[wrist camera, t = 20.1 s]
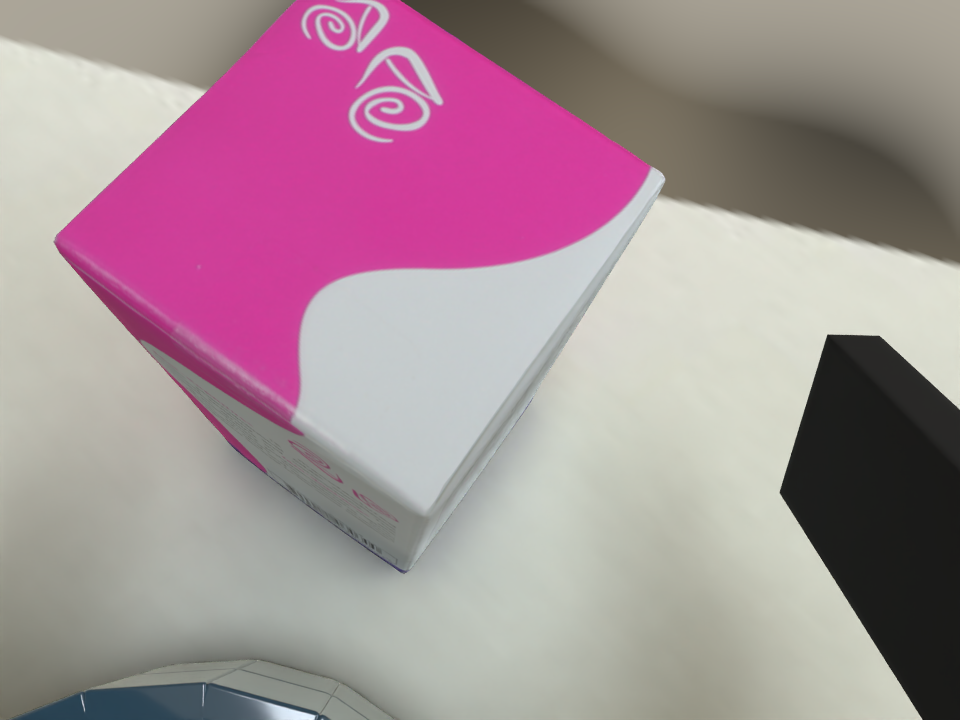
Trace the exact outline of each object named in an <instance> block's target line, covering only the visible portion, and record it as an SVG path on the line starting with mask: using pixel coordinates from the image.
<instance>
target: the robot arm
mask: <svg viewBox="0 0 960 720" xmlns="http://www.w3.org/2000/svg"><path fill="white" fill-rule="evenodd" d="M780 494H781V496H782V497H783V499H784V500H785V502H786V504H787V505H788V507H789V508H790V510H791V512H792V513H793V515H794V516H795V518H796V520H797V521H798V523H799V524H800V526H801V527H802V529H803V531H804V532H805V534H806V535H807V537H808V539H809V540H810V542H811V543H812V545H813V546H814V548H815V550H816V551H817V553H818V554H819V556H820V558H821V559H822V561H823V562H824V564H825V566H826V567H827V569H828V570H829V572H830V573H831V575H832V577H833V578H834V580H835V581H836V583H837V585H838V586H839V588H840V589H841V591H842V592H843V594H844V596H845V597H846V599H847V600H848V602H849V604H850V605H851V607H852V608H853V610H854V611H855V613H856V615H857V616H858V618H859V619H860V621H861V623H862V624H863V626H864V627H865V629H866V631H867V632H868V634H869V635H870V637H871V638H872V640H873V642H874V643H875V645H876V646H877V648H878V650H879V651H880V653H881V654H882V656H883V657H884V659H885V661H886V662H887V664H888V665H889V667H890V669H891V670H892V672H893V673H894V675H895V677H896V678H897V680H898V681H899V683H900V684H901V686H902V688H903V689H904V691H905V692H906V694H907V696H908V697H909V699H910V700H911V702H912V703H913V705H914V707H915V708H916V710H917V711H918V713H919V715H920V716H921V718H922V719H923V720H960V410H959V409H958V408H957V407H956V406H955V405H954V404H953V403H952V402H951V401H950V400H949V399H947V398H946V397H945V396H944V395H943V394H942V393H941V392H940V391H939V390H938V389H937V388H936V387H934V386H933V385H932V384H931V383H930V382H929V381H928V380H927V379H926V378H925V377H924V376H923V375H921V374H920V373H919V372H918V371H917V370H916V369H915V368H914V367H913V366H912V365H911V364H910V363H908V362H907V361H906V360H905V359H904V358H903V357H902V356H901V355H900V354H899V353H898V352H897V351H895V350H894V349H893V348H892V347H891V346H890V345H889V344H888V343H887V342H886V341H885V340H884V339H882V338H881V337H880V336H864V335H827V338H826V341H825V344H824V348H823V351H822V354H821V358H820V361H819V364H818V368H817V371H816V374H815V377H814V381H813V384H812V387H811V391H810V394H809V397H808V401H807V404H806V407H805V410H804V414H803V417H802V420H801V424H800V427H799V430H798V433H797V437H796V440H795V443H794V447H793V450H792V453H791V457H790V460H789V463H788V466H787V470H786V473H785V476H784V480H783V483H782V486H781V490H780Z"/></svg>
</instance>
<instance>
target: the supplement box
mask: <svg viewBox="0 0 960 720" xmlns="http://www.w3.org/2000/svg"><path fill="white" fill-rule="evenodd" d="M664 182H665V177H664V176H663V174H662V173H661V172H660V171H658V170H657V169H655V168H653V167H651V166H649V165H648V164H646V163H645V162H643V161H642V160H640V159H639V158H638V157H636V156H635V155H634V154H632V153H631V152H629V151H628V150H626V149H625V148H623V147H622V146H620V145H618V144H617V143H615V142H613V141H611V140H610V139H608V138H607V137H606V136H604V135H603V134H602V133H600V132H599V131H597V130H596V129H594V128H592V127H591V126H589V125H588V124H587V123H585V122H584V121H582V120H581V119H579V118H577V117H576V116H574V115H573V114H571V113H570V112H568V111H567V110H565V109H564V108H562V107H561V106H559V105H557V104H556V103H555V102H553V101H551V100H550V99H548V98H547V97H545V96H544V95H542V94H541V93H539V92H538V91H536V90H535V89H533V88H532V87H530V86H529V85H527V84H526V83H524V82H523V81H521V80H520V79H518V78H517V77H515V76H514V75H512V74H510V73H509V72H507V71H506V70H504V69H502V68H501V67H500V66H498V65H497V64H495V63H494V62H492V61H490V60H489V59H487V58H486V57H484V56H483V55H481V54H480V53H478V52H477V51H475V50H474V49H472V48H470V47H469V46H467V45H466V44H465V43H463V42H462V41H461V40H459V39H458V38H456V37H455V36H453V35H451V34H449V33H448V32H446V31H445V30H443V29H442V28H440V27H438V26H437V25H436V24H434V23H433V22H431V21H430V20H428V19H427V18H425V17H424V16H422V15H421V14H419V13H418V12H417V11H415V10H414V9H412V8H410V7H409V6H407V5H406V4H404V3H403V2H402V1H400V0H296V1H295V2H294V3H293V4H292V5H291V6H290V7H289V8H288V9H287V10H286V11H285V12H284V13H283V14H282V15H281V16H280V17H279V18H278V19H277V20H276V21H275V22H274V23H273V24H272V25H271V26H270V28H269V29H268V30H267V31H266V32H265V33H264V34H263V35H262V36H261V37H260V38H259V39H258V40H257V41H256V43H255V44H254V45H253V46H252V47H251V48H250V49H249V50H248V51H247V52H246V53H245V54H244V55H243V56H242V57H241V58H240V59H239V60H238V61H237V62H236V63H235V64H234V65H233V66H232V67H231V68H230V69H229V70H228V71H227V72H226V73H225V74H224V75H223V76H222V77H221V78H220V79H219V80H218V81H217V82H216V83H215V84H214V85H213V86H212V87H211V88H210V89H209V90H208V91H207V92H206V93H205V94H204V95H203V96H202V97H201V98H199V99H198V100H197V101H196V102H195V103H194V104H193V105H192V106H191V107H190V108H189V109H188V110H187V111H186V112H185V113H184V114H183V115H182V116H180V117H179V118H178V119H177V120H176V121H175V122H174V123H173V124H172V125H171V126H170V127H169V128H168V129H167V130H166V131H165V132H164V133H163V134H162V135H161V136H160V137H159V138H158V139H156V140H155V141H154V142H153V143H152V144H151V145H150V146H149V147H148V148H147V149H146V150H145V151H144V152H143V153H142V154H141V155H140V156H139V157H138V158H137V159H136V160H135V161H134V162H133V163H132V164H130V165H129V166H128V167H127V168H126V169H125V170H124V171H123V172H122V173H121V174H120V175H119V176H118V177H117V178H116V179H115V180H114V181H112V182H111V183H110V184H109V185H108V186H107V187H106V188H105V189H104V190H103V191H102V192H101V193H100V194H99V195H98V196H97V197H96V198H95V199H94V200H92V201H91V202H90V203H89V204H88V205H87V206H86V207H85V208H84V209H83V210H82V211H81V212H80V213H79V214H78V215H77V216H76V217H75V218H74V219H73V220H72V221H71V222H70V223H69V224H68V225H67V226H66V227H65V228H64V229H63V230H61V231H60V232H59V233H58V234H57V235H56V238H55V240H54V243H55V245H56V247H57V249H58V251H59V253H60V254H61V255H62V256H63V257H64V258H65V260H66V261H67V262H68V263H69V264H70V265H71V266H72V268H73V269H74V270H75V271H76V272H77V273H78V275H79V276H80V277H81V278H82V279H83V280H84V281H85V283H86V284H87V285H88V286H89V287H90V288H91V289H92V291H93V292H94V293H95V294H96V295H97V296H98V297H99V298H100V300H101V301H102V302H103V303H104V304H105V305H106V306H107V307H108V308H109V310H110V311H111V312H112V313H113V314H114V315H115V316H116V317H117V318H118V319H119V321H120V322H121V323H122V324H123V325H124V326H125V327H126V329H127V330H128V331H129V332H130V333H131V334H132V335H133V336H134V337H135V338H136V339H137V340H138V341H139V343H140V344H141V345H142V346H143V347H144V348H145V349H146V350H147V352H148V353H149V354H150V355H151V356H152V357H153V358H154V359H155V360H156V361H157V362H158V363H159V364H160V365H161V367H162V368H163V369H164V370H165V371H166V372H167V373H168V375H169V376H170V377H171V378H172V379H173V380H174V381H175V382H176V383H177V384H178V385H179V387H180V388H181V389H182V390H183V391H184V392H185V393H186V395H187V396H188V397H189V398H190V399H191V400H192V401H193V403H194V404H195V405H196V406H197V407H198V408H199V409H200V411H201V412H202V413H203V414H204V415H205V416H206V417H207V419H208V420H209V421H210V422H211V423H212V424H213V425H214V426H215V427H216V428H217V429H218V430H219V432H220V433H221V434H222V435H223V436H224V437H225V439H226V440H227V441H228V442H229V444H230V445H231V446H232V447H233V448H234V449H235V450H236V451H238V452H239V453H240V454H241V455H243V456H244V457H245V458H246V459H248V460H249V461H250V462H251V463H253V464H254V465H255V466H256V467H258V468H259V469H260V470H262V471H263V472H264V473H265V474H267V475H268V476H269V477H271V478H272V479H273V480H275V481H276V482H277V483H278V484H280V485H281V486H282V487H284V488H285V489H286V490H288V491H289V492H290V493H292V494H293V495H294V496H296V497H297V498H298V499H300V500H301V501H303V502H304V503H305V504H307V505H308V506H309V507H311V508H312V509H313V510H314V511H316V512H317V513H318V514H320V515H321V516H323V517H324V518H326V519H327V520H328V521H330V522H331V523H332V524H334V525H335V526H336V527H338V528H339V529H340V530H342V531H343V532H345V533H346V534H347V535H349V536H350V537H351V538H353V539H354V540H356V541H357V542H358V543H360V544H361V545H363V546H364V547H365V548H367V549H368V550H370V551H371V552H372V553H374V554H375V555H377V556H378V557H380V558H381V559H383V560H384V561H386V562H387V563H388V564H390V565H391V566H393V567H394V568H396V569H397V570H398V571H400V572H401V573H404V574H405V573H406V572H407V571H409V570H410V569H411V568H412V567H413V565H414V564H415V563H416V561H417V560H418V559H419V557H420V556H421V555H422V553H423V552H424V550H425V549H426V548H427V546H428V545H429V544H430V542H431V541H432V540H433V538H434V537H435V535H436V534H437V533H438V531H439V530H440V529H441V527H442V526H443V525H444V523H445V522H446V520H447V519H448V518H449V516H450V515H451V514H452V512H453V511H454V509H455V508H456V507H457V505H458V504H459V503H460V501H461V500H462V499H463V497H464V496H465V494H466V493H467V492H468V490H469V489H470V487H471V486H472V485H473V483H474V482H475V480H476V479H477V477H478V476H479V475H480V473H481V472H482V470H483V469H484V468H485V466H486V465H487V463H488V462H489V461H490V459H491V458H492V456H493V455H494V454H495V452H496V451H497V449H498V448H499V446H500V445H501V444H502V442H503V441H504V439H505V438H506V437H507V435H508V434H509V432H510V431H511V430H512V428H513V427H514V425H515V424H516V422H517V421H518V419H519V418H520V417H521V415H522V414H523V412H524V411H525V410H526V408H527V407H528V405H529V403H530V402H531V400H532V399H533V397H534V394H535V393H536V391H537V389H538V388H539V386H540V384H541V383H542V381H543V380H544V378H545V376H546V375H547V373H548V372H549V370H550V368H551V367H552V365H553V364H554V362H555V360H556V359H557V357H558V356H559V354H560V353H561V351H562V349H563V348H564V346H565V344H566V343H567V341H568V340H569V338H570V336H571V335H572V333H573V331H574V330H575V328H576V327H577V325H578V323H579V322H580V320H581V319H582V317H583V315H584V314H585V312H586V311H587V309H588V307H589V306H590V304H591V303H592V301H593V299H594V298H595V296H596V295H597V293H598V291H599V290H600V288H601V287H602V285H603V283H604V282H605V280H606V278H607V277H608V275H609V274H610V272H611V271H612V269H613V267H614V266H615V264H616V263H617V261H618V260H619V258H620V256H621V255H622V253H623V252H624V250H625V249H626V247H627V245H628V244H629V242H630V241H631V239H632V238H633V236H634V234H635V233H636V231H637V229H638V228H639V226H640V225H641V223H642V221H643V220H644V218H645V216H646V215H647V213H648V211H649V210H650V208H651V207H652V205H653V203H654V202H655V200H656V198H657V196H658V194H659V192H660V190H661V188H662V186H663V184H664Z"/></svg>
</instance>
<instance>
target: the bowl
mask: <svg viewBox="0 0 960 720" xmlns="http://www.w3.org/2000/svg"><path fill="white" fill-rule="evenodd" d="M8 720H395V719H394V718H392V717H391V716H389V715H388V714H387V713H385V712H384V711H382V710H381V709H379V708H378V707H376V706H375V705H374V704H372V703H371V702H369V701H368V700H366V699H365V698H363V697H362V696H361V695H359V694H358V693H356V692H355V691H353V690H352V689H351V688H349V687H348V686H346V685H345V684H343V683H340V684H339V682H338V681H336V680H333V679H329V678H325V677H322V676H318V675H314V674H311V673H307V672H303V671H300V670H296V669H293V668H289V667H285V666H282V665H278V664H274V663H271V662H267V661H263V660H259V661H257V660H256V659H249V660H233V661H217V662H202V663H186V664H172V665H169V666H164V667H160V668H157V669H154V670H150V671H147V672H143V673H140V674H137V675H133V676H130V677H127V678H123V679H120V680H116V681H113V682H110V683H106V684H103V685H100V686H96V687H93V688H89V689H86V690H83V691H80V692H77V693H74V694H72V695H69V696H67V697H64V698H62V699H59V700H56V701H54V702H51V703H49V704H46V705H44V706H41V707H38V708H36V709H33V710H31V711H28V712H26V713H23V714H20V715H18V716H15V717H13V718H10V719H8Z"/></svg>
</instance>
